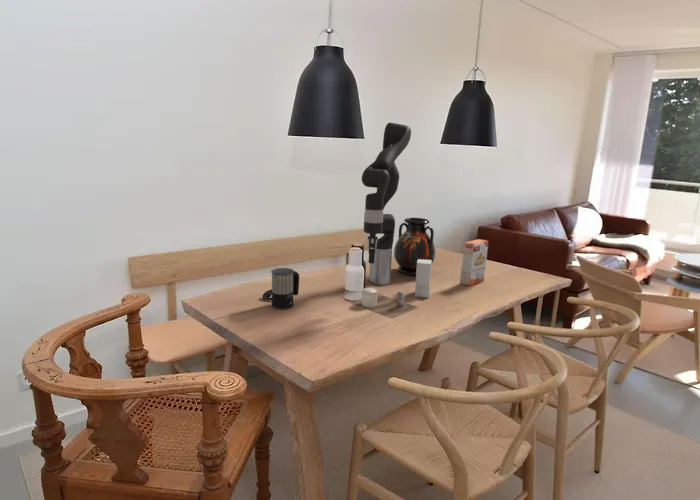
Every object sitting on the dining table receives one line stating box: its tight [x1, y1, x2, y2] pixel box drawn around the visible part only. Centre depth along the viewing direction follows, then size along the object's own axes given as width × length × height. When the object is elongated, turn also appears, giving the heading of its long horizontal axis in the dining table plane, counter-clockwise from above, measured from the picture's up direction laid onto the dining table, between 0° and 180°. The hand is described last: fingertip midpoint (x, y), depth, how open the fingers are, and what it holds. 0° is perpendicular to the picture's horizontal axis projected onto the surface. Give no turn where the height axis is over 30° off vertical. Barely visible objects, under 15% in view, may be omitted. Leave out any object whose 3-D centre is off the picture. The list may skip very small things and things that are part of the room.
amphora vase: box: [393, 217, 436, 277], centre depth 246 cm, size 22×22×28 cm
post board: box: [349, 290, 420, 319], centre depth 193 cm, size 22×18×8 cm
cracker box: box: [459, 238, 489, 287], centre depth 233 cm, size 14×6×21 cm, turn 136°
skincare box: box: [414, 259, 433, 299], centre depth 212 cm, size 8×7×16 cm
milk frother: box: [262, 267, 300, 310], centre depth 195 cm, size 14×16×15 cm
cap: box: [360, 287, 378, 307], centre depth 194 cm, size 6×6×6 cm
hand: (371, 260), depth 190 cm, fingers open, 8 cm apart
